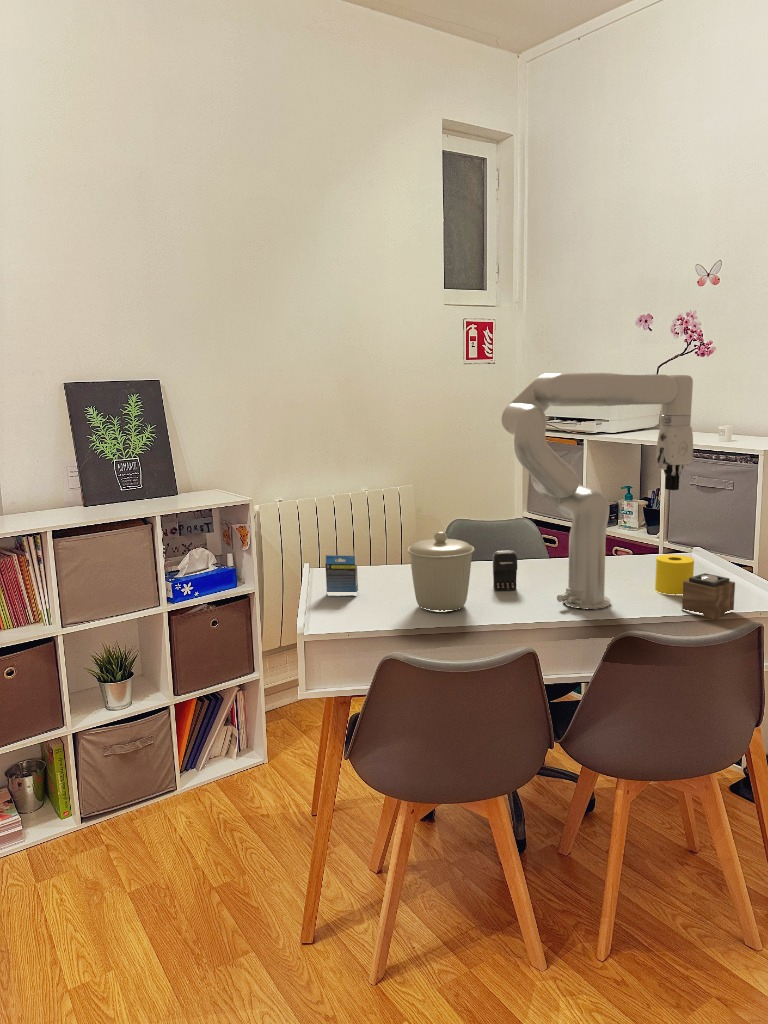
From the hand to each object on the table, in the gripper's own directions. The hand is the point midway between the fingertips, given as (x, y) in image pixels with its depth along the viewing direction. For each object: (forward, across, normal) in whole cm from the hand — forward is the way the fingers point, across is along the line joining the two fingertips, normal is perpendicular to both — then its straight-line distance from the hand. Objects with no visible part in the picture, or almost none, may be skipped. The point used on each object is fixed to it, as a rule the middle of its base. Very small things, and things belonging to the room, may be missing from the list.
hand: (671, 489), depth 217 cm
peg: (+29, -3, -15) cm, 33 cm away
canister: (+31, -55, +30) cm, 70 cm away
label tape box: (+32, -71, +57) cm, 96 cm away
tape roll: (+30, +6, +2) cm, 31 cm away
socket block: (+30, -3, -15) cm, 34 cm away
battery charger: (+31, -30, +32) cm, 54 cm away
